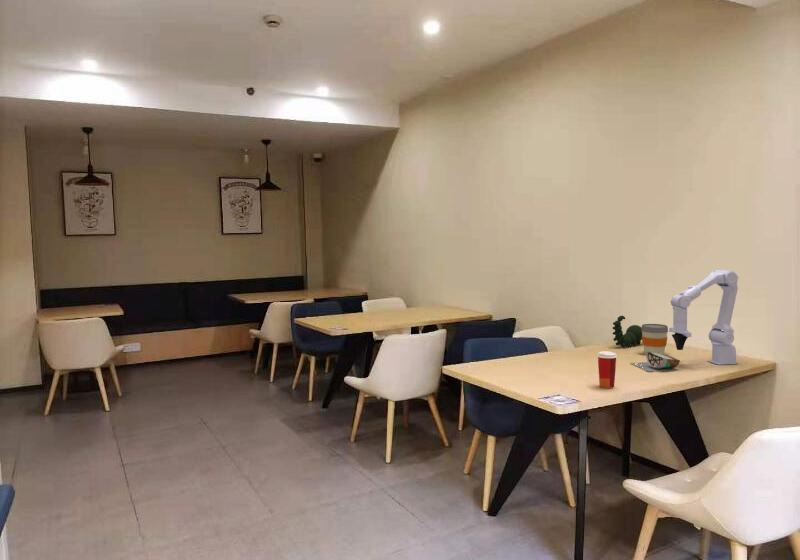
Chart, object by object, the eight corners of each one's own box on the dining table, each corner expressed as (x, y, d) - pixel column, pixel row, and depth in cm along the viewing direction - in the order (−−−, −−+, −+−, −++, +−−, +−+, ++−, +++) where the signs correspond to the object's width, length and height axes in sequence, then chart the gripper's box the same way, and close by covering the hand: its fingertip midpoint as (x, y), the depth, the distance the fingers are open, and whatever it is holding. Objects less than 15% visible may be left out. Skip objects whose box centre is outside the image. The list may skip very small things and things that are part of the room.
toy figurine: (624, 353, 299) (651, 343, 312) (622, 318, 296) (650, 309, 310) (609, 350, 307) (636, 340, 320) (607, 316, 304) (634, 308, 318)
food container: (660, 366, 264) (642, 363, 261) (663, 353, 263) (645, 351, 261) (679, 374, 252) (660, 371, 250) (682, 361, 251) (663, 358, 249)
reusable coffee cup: (635, 353, 289) (635, 325, 288) (652, 351, 294) (653, 322, 293) (655, 358, 278) (656, 328, 276) (673, 355, 283) (673, 326, 282)
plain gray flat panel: (655, 362, 269) (655, 361, 269) (675, 370, 252) (675, 370, 252) (629, 363, 268) (629, 362, 268) (648, 372, 251) (648, 371, 251)
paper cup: (612, 383, 233) (612, 350, 232) (620, 388, 225) (620, 354, 224) (593, 384, 233) (593, 351, 232) (600, 389, 225) (601, 355, 224)
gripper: (663, 318, 266) (663, 347, 267) (681, 323, 251) (680, 353, 252) (677, 318, 266) (677, 346, 267) (695, 322, 252) (695, 352, 253)
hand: (679, 349), depth 260 cm, fingers closed
